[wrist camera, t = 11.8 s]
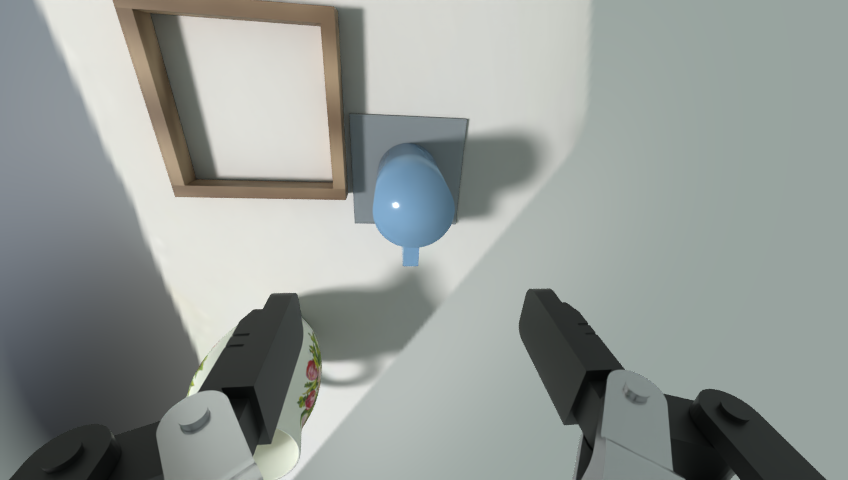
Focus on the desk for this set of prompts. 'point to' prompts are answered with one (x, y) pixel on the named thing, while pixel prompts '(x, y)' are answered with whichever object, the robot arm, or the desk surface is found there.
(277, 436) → the pitcher
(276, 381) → the robot arm
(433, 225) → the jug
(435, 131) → the mat
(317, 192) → the holder
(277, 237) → the desk surface
